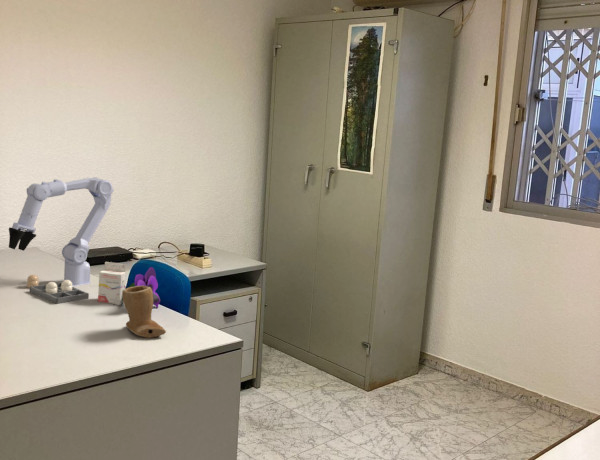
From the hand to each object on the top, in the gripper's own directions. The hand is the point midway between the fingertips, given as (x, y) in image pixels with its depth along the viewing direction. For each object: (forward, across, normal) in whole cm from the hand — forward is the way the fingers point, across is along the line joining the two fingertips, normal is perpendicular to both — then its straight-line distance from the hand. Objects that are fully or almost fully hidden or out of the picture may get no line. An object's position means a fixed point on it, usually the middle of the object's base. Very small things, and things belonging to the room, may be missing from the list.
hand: (16, 249), depth 242 cm
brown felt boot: (+11, +25, +61) cm, 66 cm away
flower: (+6, -1, +50) cm, 51 cm away
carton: (+12, -3, +20) cm, 23 cm away
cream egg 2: (+10, -5, +22) cm, 25 cm away
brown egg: (+13, -10, +7) cm, 18 cm away
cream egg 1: (+12, -1, +18) cm, 22 cm away
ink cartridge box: (+8, -3, +40) cm, 41 cm away
